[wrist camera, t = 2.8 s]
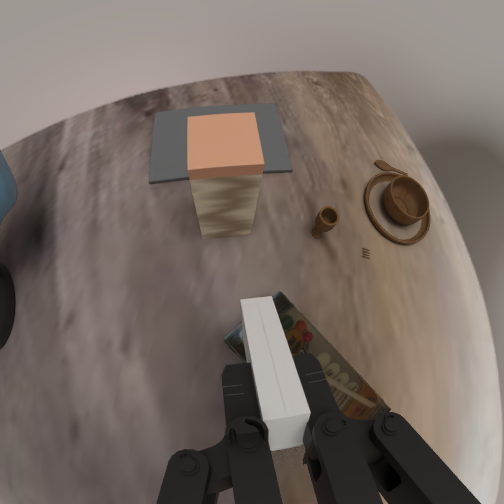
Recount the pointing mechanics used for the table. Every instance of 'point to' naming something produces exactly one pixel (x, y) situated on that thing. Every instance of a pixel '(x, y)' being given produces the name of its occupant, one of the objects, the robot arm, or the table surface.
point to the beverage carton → (333, 364)
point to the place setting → (388, 205)
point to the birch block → (224, 172)
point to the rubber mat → (175, 121)
